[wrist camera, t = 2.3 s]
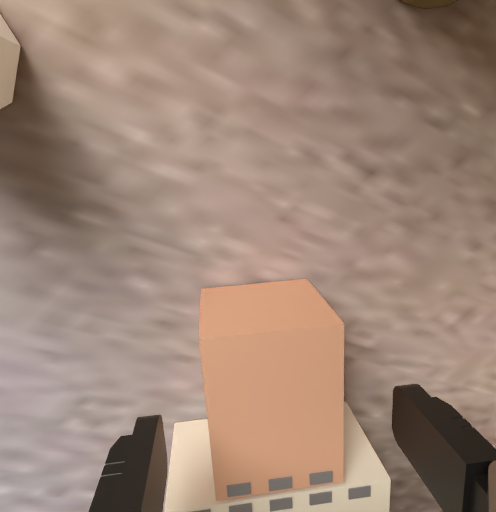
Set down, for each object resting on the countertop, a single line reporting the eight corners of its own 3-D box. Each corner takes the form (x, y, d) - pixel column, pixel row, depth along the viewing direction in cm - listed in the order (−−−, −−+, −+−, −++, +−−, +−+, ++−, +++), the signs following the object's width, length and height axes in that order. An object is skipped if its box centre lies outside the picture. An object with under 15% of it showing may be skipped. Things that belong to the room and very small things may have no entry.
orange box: (201, 288, 17) (198, 339, 12) (306, 278, 18) (344, 324, 13) (213, 414, 19) (216, 502, 14) (309, 402, 19) (343, 483, 15)
